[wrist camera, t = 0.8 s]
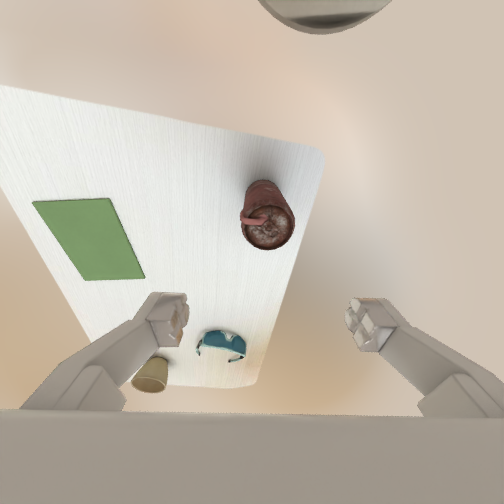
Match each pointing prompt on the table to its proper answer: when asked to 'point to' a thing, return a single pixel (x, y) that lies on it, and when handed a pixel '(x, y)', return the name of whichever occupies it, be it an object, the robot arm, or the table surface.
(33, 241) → the table surface
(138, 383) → the flower pot
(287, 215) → the can
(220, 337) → the sunglasses
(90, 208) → the felt cloth
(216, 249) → the table surface
